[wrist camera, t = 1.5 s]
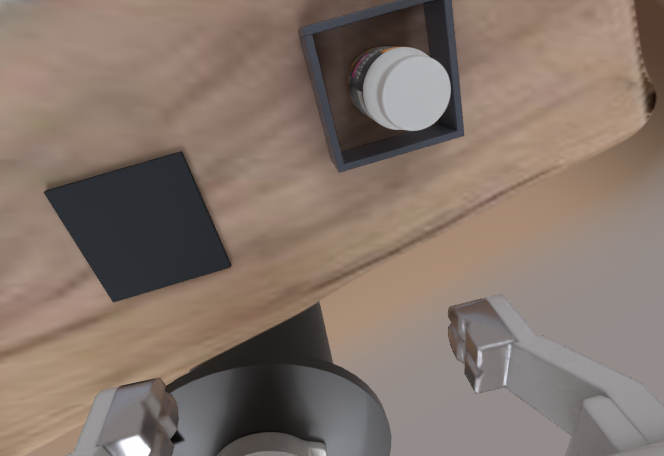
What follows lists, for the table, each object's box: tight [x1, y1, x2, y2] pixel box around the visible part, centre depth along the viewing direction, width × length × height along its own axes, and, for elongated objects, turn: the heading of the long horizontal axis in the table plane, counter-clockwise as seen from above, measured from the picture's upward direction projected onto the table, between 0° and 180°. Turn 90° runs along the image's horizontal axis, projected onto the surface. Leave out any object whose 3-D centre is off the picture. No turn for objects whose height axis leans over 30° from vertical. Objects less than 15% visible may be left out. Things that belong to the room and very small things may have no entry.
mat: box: [44, 151, 231, 302], centre depth 36 cm, size 12×12×1 cm
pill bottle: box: [347, 46, 451, 131], centre depth 29 cm, size 6×6×10 cm
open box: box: [298, 0, 464, 173], centre depth 32 cm, size 11×11×4 cm
